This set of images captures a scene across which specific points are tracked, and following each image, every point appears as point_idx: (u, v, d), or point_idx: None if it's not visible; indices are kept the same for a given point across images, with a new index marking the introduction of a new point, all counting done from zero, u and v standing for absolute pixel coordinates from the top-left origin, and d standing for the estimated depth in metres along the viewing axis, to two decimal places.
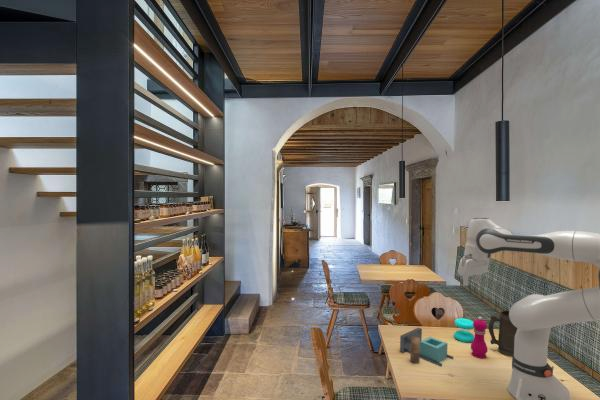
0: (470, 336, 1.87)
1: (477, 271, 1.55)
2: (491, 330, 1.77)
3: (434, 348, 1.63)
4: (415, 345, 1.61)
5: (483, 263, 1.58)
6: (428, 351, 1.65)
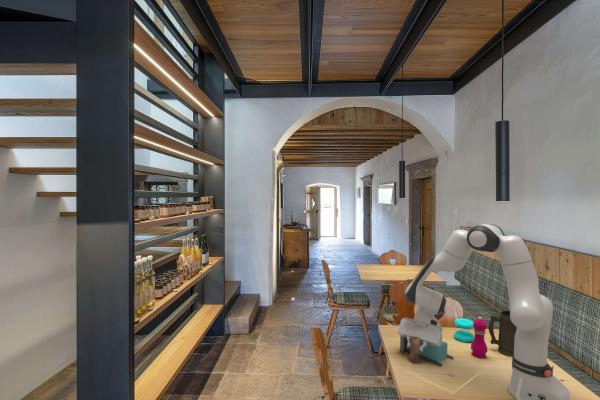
0: (470, 336, 1.87)
1: (419, 335, 1.64)
2: (491, 330, 1.77)
3: (434, 348, 1.63)
4: (415, 345, 1.61)
5: (431, 332, 1.63)
6: (428, 351, 1.65)
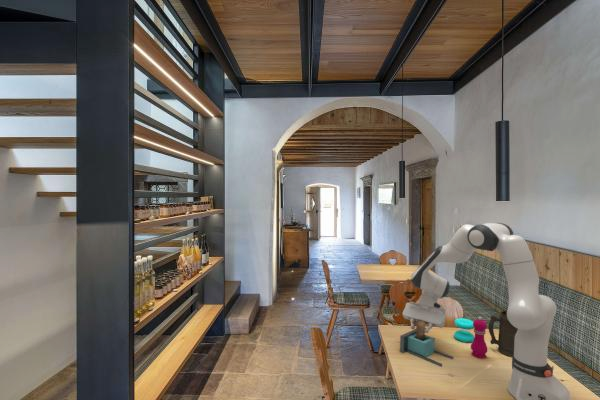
0: (470, 336, 1.87)
1: (423, 317, 1.75)
2: (491, 330, 1.77)
3: (421, 343, 1.68)
4: (420, 327, 1.71)
5: (434, 314, 1.73)
6: (416, 346, 1.70)
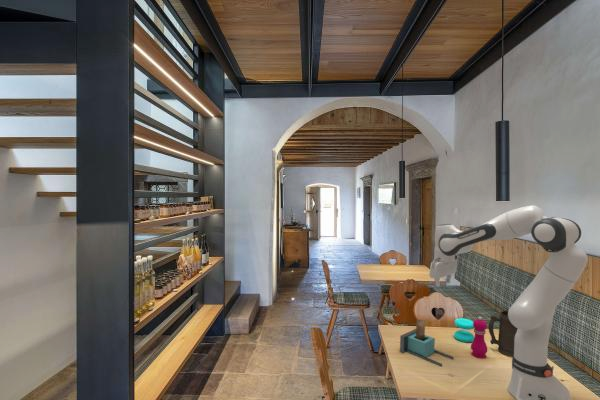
0: (470, 336, 1.87)
1: (447, 272, 1.72)
2: (491, 330, 1.77)
3: (421, 343, 1.68)
4: (420, 328, 1.71)
5: (452, 264, 1.75)
6: (416, 346, 1.70)
